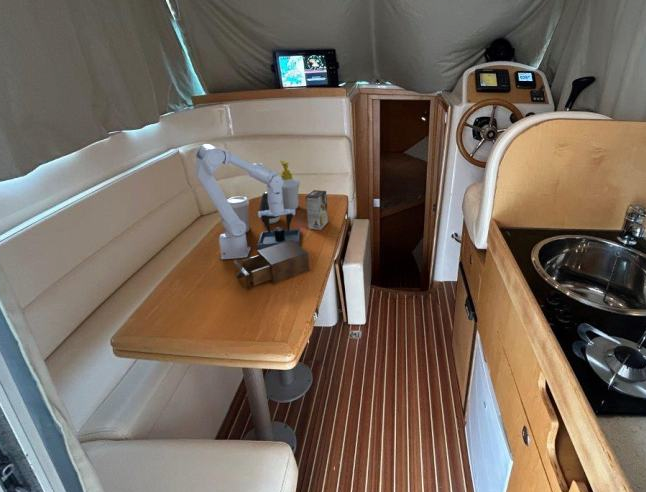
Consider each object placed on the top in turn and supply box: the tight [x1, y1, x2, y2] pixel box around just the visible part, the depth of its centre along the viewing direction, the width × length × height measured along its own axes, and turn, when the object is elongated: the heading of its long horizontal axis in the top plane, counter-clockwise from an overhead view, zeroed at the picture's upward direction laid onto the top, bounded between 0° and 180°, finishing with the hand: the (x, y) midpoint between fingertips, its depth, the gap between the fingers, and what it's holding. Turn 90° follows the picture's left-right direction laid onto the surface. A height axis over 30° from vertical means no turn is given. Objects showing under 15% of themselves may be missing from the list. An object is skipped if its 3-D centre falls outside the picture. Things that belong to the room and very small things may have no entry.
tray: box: [257, 228, 301, 250], centre depth 153 cm, size 16×12×2 cm
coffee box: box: [305, 189, 329, 231], centre depth 166 cm, size 9×6×16 cm
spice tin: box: [273, 226, 285, 242], centre depth 153 cm, size 4×4×5 cm
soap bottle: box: [279, 160, 301, 210], centre depth 183 cm, size 13×13×25 cm
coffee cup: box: [227, 195, 250, 233], centre depth 159 cm, size 10×10×15 cm
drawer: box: [233, 254, 273, 291], centre depth 125 cm, size 14×11×6 cm
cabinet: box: [257, 240, 310, 285], centre depth 131 cm, size 14×13×8 cm
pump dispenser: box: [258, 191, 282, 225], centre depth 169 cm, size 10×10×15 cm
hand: (279, 231), depth 152 cm, fingers open, 7 cm apart
